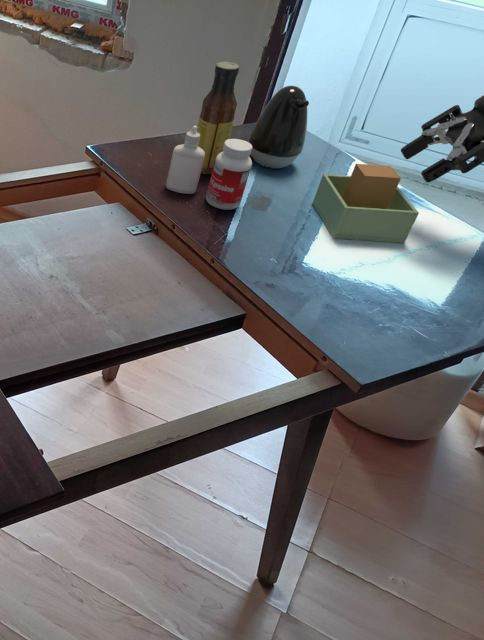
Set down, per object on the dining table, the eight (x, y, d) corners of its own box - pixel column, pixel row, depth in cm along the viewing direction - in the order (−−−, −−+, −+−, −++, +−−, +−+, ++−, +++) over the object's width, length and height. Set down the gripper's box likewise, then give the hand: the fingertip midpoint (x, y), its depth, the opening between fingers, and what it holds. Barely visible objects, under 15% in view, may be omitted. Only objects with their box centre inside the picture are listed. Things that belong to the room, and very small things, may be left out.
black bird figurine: (260, 176, 132) (284, 98, 122) (235, 153, 140) (256, 77, 130) (306, 173, 135) (334, 96, 125) (279, 150, 142) (303, 76, 132)
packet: (379, 225, 118) (401, 178, 113) (345, 223, 118) (365, 175, 113) (370, 212, 122) (391, 165, 116) (336, 210, 122) (355, 163, 116)
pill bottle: (198, 200, 124) (212, 142, 116) (217, 191, 127) (233, 133, 120) (227, 214, 120) (244, 155, 113) (246, 204, 124) (264, 146, 116)
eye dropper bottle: (185, 198, 124) (201, 135, 116) (161, 186, 127) (174, 124, 119) (200, 191, 126) (215, 128, 118) (175, 180, 129) (189, 118, 121)
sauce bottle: (222, 165, 135) (249, 61, 122) (221, 179, 131) (250, 73, 118) (188, 160, 136) (212, 57, 123) (187, 174, 132) (211, 68, 119)
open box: (378, 207, 125) (391, 178, 122) (404, 243, 116) (419, 212, 112) (312, 203, 125) (323, 173, 121) (332, 238, 116) (345, 207, 112)
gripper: (487, 67, 109) (387, 132, 116) (535, 100, 98) (421, 169, 106) (503, 102, 113) (405, 163, 120) (551, 138, 102) (440, 202, 109)
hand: (413, 166), depth 113 cm, fingers open, 8 cm apart
